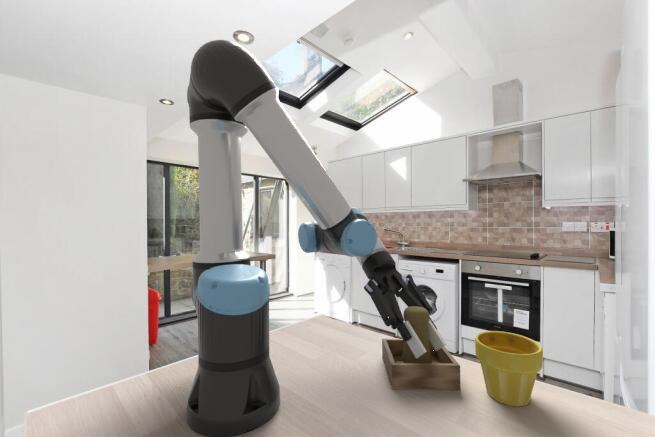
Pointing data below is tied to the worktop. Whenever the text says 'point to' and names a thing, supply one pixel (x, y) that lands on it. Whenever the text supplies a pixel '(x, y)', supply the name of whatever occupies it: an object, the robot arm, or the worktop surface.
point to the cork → (419, 322)
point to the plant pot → (508, 365)
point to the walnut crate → (420, 369)
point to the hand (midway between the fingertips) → (431, 351)
